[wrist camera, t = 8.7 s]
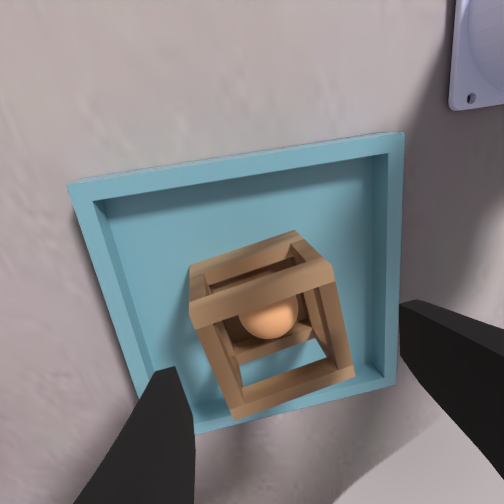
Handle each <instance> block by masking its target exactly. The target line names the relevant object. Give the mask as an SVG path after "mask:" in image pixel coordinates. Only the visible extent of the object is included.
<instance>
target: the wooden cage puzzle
mask: <svg viewBox="0 0 504 504" xmlns="http://www.w3.org/2000/svg"><path fill="white" fill-rule="evenodd" d="M294 295H296V298H297V302H298V316H297V319H296V321H295V323H294V325H293V327H292V328H291V329H290V330H289V331H288V332H287V333H286V334H284V335H282V336H280V337H278V338H274V339H263V338H259V337H256V336H254V335H252V334H251V333H249V332H248V331H247V330H246V329H245V328H244V326H243V325H242V323H241V321H240V319H239V316H238V315H239V314H242V313H245V312H248V311H251V310H253V309H256V308H259V307H262V306H265V305H268V304H271V303H274V302H276V301H279V300H282V299H285V298H288V297H291V296H294ZM189 316H190V319H191V321H192V323H193V326H194V328H195V330H196V333H197V335H198V337H199V340H200V342H201V344H202V347H203V349H204V351H205V354H206V356H207V358H208V361H209V363H210V365H211V368H212V370H213V372H214V375H215V377H216V379H217V382H218V384H219V386H220V389H221V391H222V393H223V396H224V398H225V400H226V403H227V405H228V407H229V410H230V412H231V414H232V417H233V419H234V421H236V420H239V419H242V418H244V417H247V416H250V415H252V414H255V413H258V412H261V411H263V410H266V409H269V408H271V407H274V406H277V405H280V404H282V403H285V402H288V401H291V400H293V399H296V398H299V397H301V396H304V395H307V394H310V393H312V392H315V391H318V390H320V389H323V388H326V387H329V386H331V385H334V384H337V383H339V382H342V381H345V380H348V379H350V378H353V377H356V376H355V371H354V366H353V362H352V357H351V352H350V348H349V343H348V338H347V333H346V329H345V324H344V319H343V315H342V310H341V305H340V301H339V296H338V291H337V286H336V282H335V277H334V272H333V268H332V265H331V264H330V263H329V262H328V261H327V260H326V259H325V258H324V257H323V256H322V255H321V254H319V253H318V252H317V251H316V250H315V249H314V248H313V247H312V246H311V245H310V244H309V243H308V242H307V241H306V240H305V239H304V238H303V237H302V236H301V235H300V234H299V233H298V232H297V231H295V230H292V231H289V232H286V233H283V234H280V235H277V236H274V237H271V238H268V239H265V240H262V241H259V242H257V243H254V244H251V245H248V246H245V247H242V248H239V249H236V250H233V251H230V252H227V253H224V254H221V255H218V256H215V257H212V258H209V259H206V260H203V261H200V262H197V263H194V264H191V265H190V267H189ZM314 338H315V339H316V340H317V342H318V344H319V345H320V347H321V349H322V350H323V352H324V354H325V355H326V358H323V359H320V360H317V361H315V362H312V363H309V364H306V365H304V366H301V367H298V368H295V369H293V370H290V371H287V372H284V373H282V374H279V375H276V376H273V377H270V378H268V379H265V380H262V381H259V382H257V383H254V384H251V385H248V386H246V387H243V382H242V377H241V372H240V367H239V365H241V364H244V363H247V362H250V361H253V360H255V359H258V358H261V357H264V356H266V355H269V354H272V353H275V352H278V351H280V350H283V349H286V348H289V347H292V346H294V345H297V344H300V343H303V342H306V341H308V340H311V339H314Z"/></svg>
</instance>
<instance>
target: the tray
mask: <svg viewBox="0 0 504 504" xmlns="http://www.w3.org/2000/svg"><path fill="white" fill-rule="evenodd" d="M404 143H405V132H379V133H373V134H366V135H360V136H353V137H347V138H340V139H334V140H327V141H321V142H314V143H308V144H302V145H295V146H289V147H282V148H276V149H269V150H263V151H256V152H250V153H243V154H237V155H230V156H224V157H217V158H211V159H204V160H198V161H192V162H185V163H179V164H172V165H166V166H159V167H153V168H146V169H140V170H133V171H127V172H120V173H114V174H107V175H101V176H94V177H88V178H82V179H79V180H77V181H74V182H72V183H70V184H68V185H66V186H67V189H68V192H69V195H70V198H71V201H72V204H73V207H74V210H75V213H76V216H77V219H78V222H79V225H80V228H81V231H82V234H83V236H84V239H85V242H86V245H87V248H88V251H89V254H90V257H91V260H92V263H93V266H94V269H95V272H96V275H97V278H98V281H99V284H100V286H101V289H102V292H103V295H104V298H105V301H106V304H107V307H108V310H109V313H110V316H111V319H112V322H113V325H114V328H115V331H116V334H117V337H118V339H119V342H120V345H121V348H122V351H123V354H124V357H125V360H126V363H127V366H128V369H129V372H130V375H131V378H132V381H133V384H134V387H135V389H136V392H137V395H138V398H139V399H140V397H141V395H142V394H143V392H144V390H145V388H146V386H147V384H148V382H149V381H150V379H151V377H152V375H153V374H154V372H155V371H158V370H162V369H165V368H169V367H172V366H175V367H176V370H177V372H178V375H179V378H180V381H181V384H182V386H183V389H184V392H185V395H186V397H187V400H188V403H189V406H190V408H191V411H192V414H193V421H194V434H195V435H196V434H200V433H204V432H208V431H212V430H216V429H220V428H224V427H228V426H232V425H236V424H240V423H244V422H248V421H252V420H256V419H260V418H264V417H268V416H272V415H277V414H281V413H285V412H289V411H293V410H297V409H301V408H305V407H309V406H313V405H317V404H321V403H325V402H329V401H333V400H337V399H341V398H345V397H349V396H353V395H357V394H361V393H365V392H369V391H373V390H377V389H381V388H385V387H389V386H393V385H396V375H397V346H398V317H399V288H400V259H401V230H402V201H403V172H404ZM292 230H295V231H297V232H298V233H299V234H300V235H301V236H302V237H303V238H304V239H305V240H306V241H307V242H308V243H309V244H310V245H311V246H312V247H313V248H314V249H315V250H316V251H317V252H318V253H319V254H321V255H322V256H323V257H324V258H325V259H326V260H327V261H328V262H329V263H330V264H331V265H332V268H333V272H334V277H335V282H336V286H337V291H338V296H339V301H340V305H341V310H342V315H343V319H344V324H345V329H346V333H347V338H348V343H349V348H350V352H351V357H352V362H353V366H354V371H355V376H356V377H353V378H350V379H348V380H345V381H342V382H339V383H337V384H334V385H331V386H329V387H326V388H323V389H320V390H318V391H315V392H312V393H310V394H307V395H304V396H301V397H299V398H296V399H293V400H291V401H288V402H285V403H282V404H280V405H277V406H274V407H271V408H269V409H266V410H263V411H261V412H258V413H255V414H252V415H250V416H247V417H244V418H242V419H239V420H236V421H234V419H233V417H232V414H231V412H230V410H229V407H228V405H227V403H226V400H225V398H224V396H223V393H222V391H221V389H220V386H219V384H218V382H217V379H216V377H215V375H214V372H213V370H212V368H211V365H210V363H209V361H208V358H207V356H206V354H205V351H204V349H203V347H202V344H201V342H200V340H199V337H198V335H197V333H196V330H195V328H194V326H193V323H192V321H191V319H190V316H189V267H190V265H191V264H194V263H197V262H200V261H203V260H206V259H209V258H212V257H215V256H218V255H221V254H224V253H227V252H230V251H233V250H236V249H239V248H242V247H245V246H248V245H251V244H254V243H257V242H259V241H262V240H265V239H268V238H271V237H274V236H277V235H280V234H283V233H286V232H289V231H292ZM323 358H326V355H325V354H324V352H323V350H322V349H321V347H320V345H319V344H318V342H317V340H316V339H315V338H314V339H311V340H308V341H306V342H303V343H300V344H297V345H294V346H292V347H289V348H286V349H283V350H280V351H278V352H275V353H272V354H269V355H266V356H264V357H261V358H258V359H255V360H253V361H250V362H247V363H244V364H241V365H239V367H240V372H241V377H242V382H243V387H246V386H248V385H251V384H254V383H257V382H259V381H262V380H265V379H268V378H270V377H273V376H276V375H279V374H282V373H284V372H287V371H290V370H293V369H295V368H298V367H301V366H304V365H306V364H309V363H312V362H315V361H317V360H320V359H323Z"/></svg>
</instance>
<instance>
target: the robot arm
mask: <svg viewBox="0 0 504 504" xmlns="http://www.w3.org/2000/svg"><path fill="white" fill-rule="evenodd" d="M468 95H470V100H469V102H467V96H468ZM448 102H449V107H450V109H452V110H453V111H461V110H467V109H474V108H481V107H487V106H494V105H500V104H504V0H456V11H455V24H454V37H453V49H452V62H451V75H450V88H449V101H448ZM399 332H400V356H401V357H402V359H403V360H404V362H405V363H406V365H407V366H408V368H409V369H410V370H411V372H412V373H413V375H414V376H415V377H416V379H417V380H418V382H419V383H420V384H421V385H422V386H423V388H424V389H425V390H426V391H427V392H428V393H429V394H430V395H431V397H432V398H433V399H434V400H435V401H436V402H437V403H438V404H439V406H440V407H441V408H442V409H443V410H444V411H445V412H446V413H447V414H448V415H449V417H450V418H451V419H452V420H453V421H454V422H455V423H456V424H457V425H458V426H459V428H460V429H461V430H462V431H463V432H464V433H465V434H466V435H467V436H468V437H469V438H470V440H471V441H472V442H473V443H474V444H475V445H476V446H477V447H478V449H479V450H480V451H481V452H482V453H483V455H484V456H485V457H486V458H487V459H488V460H489V462H490V463H491V464H492V465H493V467H494V468H495V469H496V471H497V472H498V473H499V474H500V476H501V477H502V478H503V479H504V329H501V328H498V327H495V326H492V325H489V324H486V323H484V322H481V321H478V320H475V319H472V318H469V317H467V316H464V315H461V314H458V313H456V312H453V311H450V310H447V309H444V308H442V307H439V306H436V305H433V304H430V303H427V302H424V301H420V300H417V299H416V300H412V301H408V302H405V303H401V304H399ZM195 454H196V449H195V434H194V421H193V414H192V411H191V408H190V406H189V403H188V400H187V397H186V395H185V392H184V389H183V386H182V384H181V381H180V378H179V375H178V372H177V370H176V367H175V366H172V367H169V368H165V369H162V370H158V371H155V372H154V374H153V375H152V377H151V379H150V381H149V382H148V384H147V386H146V388H145V390H144V392H143V394H142V395H141V397H140V399H139V401H138V403H137V404H136V406H135V408H134V410H133V412H132V413H131V415H130V417H129V419H128V420H127V422H126V424H125V425H124V427H123V429H122V431H121V432H120V434H119V436H118V437H117V439H116V441H115V442H114V444H113V445H112V447H111V448H110V450H109V452H108V453H107V455H106V456H105V458H104V459H103V461H102V463H101V464H100V466H99V467H98V469H97V470H96V472H95V473H94V475H93V476H92V478H91V479H90V481H89V482H88V483H87V485H86V486H85V488H84V489H83V491H82V492H81V493H80V495H79V496H78V498H77V499H76V500H75V502H74V503H73V504H194V484H195Z"/></svg>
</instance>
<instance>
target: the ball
mask: <svg viewBox="0 0 504 504" xmlns="http://www.w3.org/2000/svg"><path fill="white" fill-rule="evenodd" d="M238 316H239V319H240V321H241V323H242V325H243V326H244V328H245V329H246V330H247V331H248V332H249V333H251V334H252V335H254V336H256V337H259V338H263V339H274V338H278V337H280V336H282V335H284V334H286V333H287V332H288V331H289V330H290V329H291V328H292V327H293V325H294V323H295V321H296V319H297V316H298V302H297V298H296V295H294V296H291V297H288V298H285V299H282V300H279V301H276V302H274V303H271V304H268V305H265V306H262V307H259V308H256V309H253V310H251V311H248V312H245V313H242V314H239V315H238Z"/></svg>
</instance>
